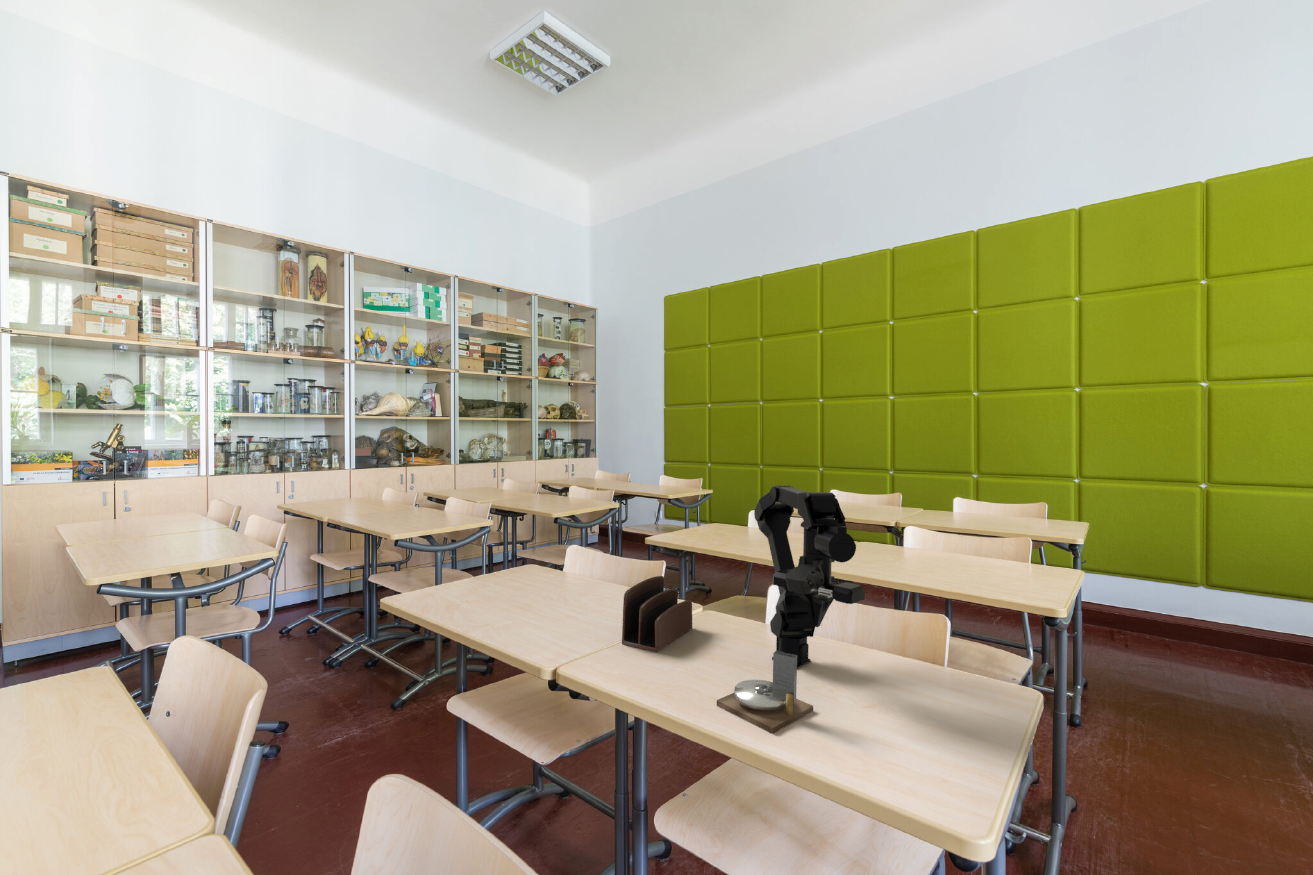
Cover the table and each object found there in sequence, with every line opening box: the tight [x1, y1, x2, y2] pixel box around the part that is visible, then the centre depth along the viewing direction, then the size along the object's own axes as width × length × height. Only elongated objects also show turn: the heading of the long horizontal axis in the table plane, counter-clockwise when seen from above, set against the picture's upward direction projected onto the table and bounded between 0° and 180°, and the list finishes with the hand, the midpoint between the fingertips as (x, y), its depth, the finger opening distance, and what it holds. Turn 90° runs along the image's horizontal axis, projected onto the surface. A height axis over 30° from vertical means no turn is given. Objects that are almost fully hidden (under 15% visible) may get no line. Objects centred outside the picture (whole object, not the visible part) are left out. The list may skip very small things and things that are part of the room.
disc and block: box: [733, 650, 798, 711], centre depth 103 cm, size 12×10×9 cm
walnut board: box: [716, 692, 814, 734], centre depth 104 cm, size 13×13×5 cm
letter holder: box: [621, 575, 693, 653], centre depth 141 cm, size 10×20×14 cm, turn 150°
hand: (815, 626), depth 115 cm, fingers closed
